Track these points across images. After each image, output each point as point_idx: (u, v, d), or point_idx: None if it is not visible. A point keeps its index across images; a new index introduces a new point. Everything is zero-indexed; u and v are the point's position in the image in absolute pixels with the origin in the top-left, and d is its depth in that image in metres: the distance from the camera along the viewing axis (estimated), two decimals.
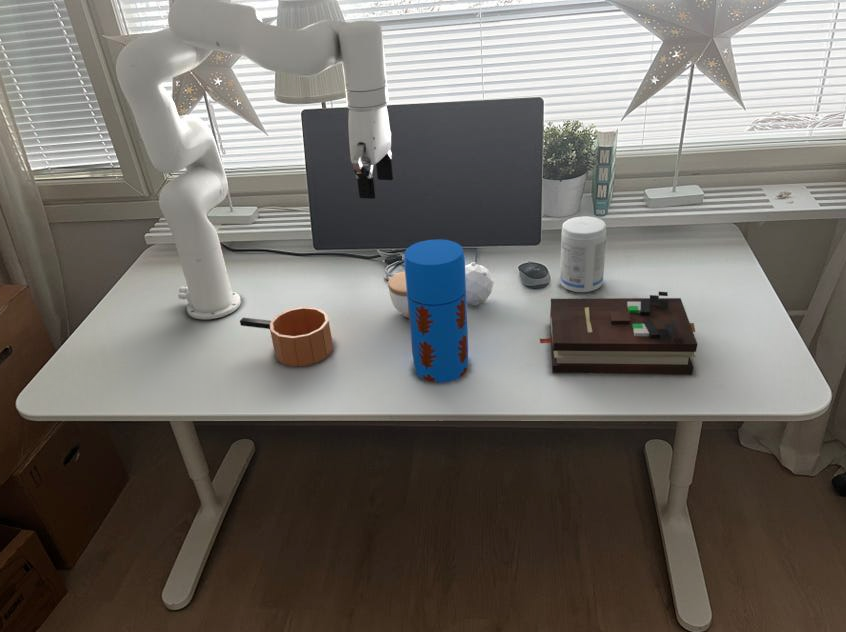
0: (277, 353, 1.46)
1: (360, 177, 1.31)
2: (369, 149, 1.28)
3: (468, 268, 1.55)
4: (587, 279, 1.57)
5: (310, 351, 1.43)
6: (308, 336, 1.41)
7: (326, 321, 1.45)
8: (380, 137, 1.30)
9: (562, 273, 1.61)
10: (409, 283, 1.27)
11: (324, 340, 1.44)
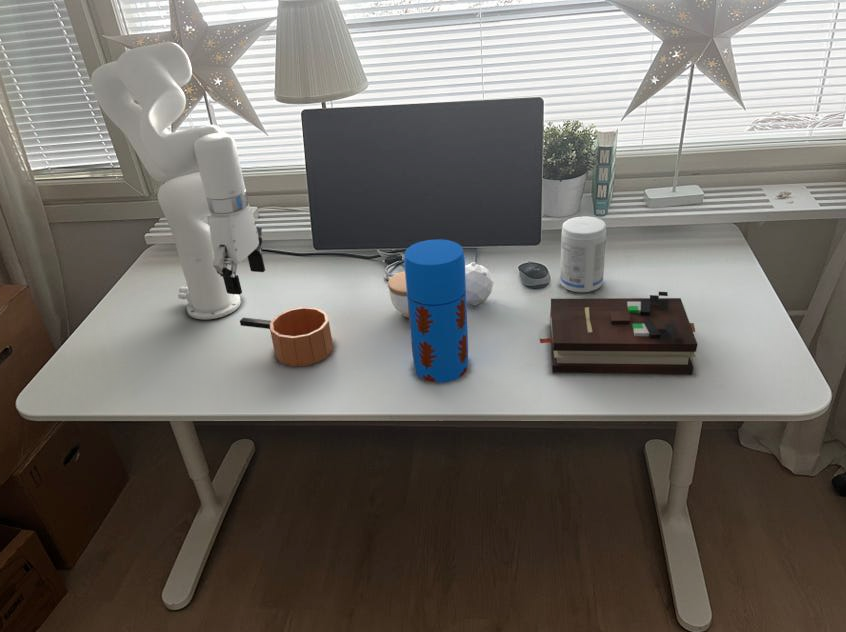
0: (277, 353, 1.46)
1: (224, 276, 1.37)
2: (230, 251, 1.35)
3: (468, 268, 1.55)
4: (587, 279, 1.57)
5: (310, 351, 1.43)
6: (308, 336, 1.41)
7: (326, 321, 1.45)
8: (242, 238, 1.37)
9: (562, 273, 1.61)
10: (409, 283, 1.27)
11: (324, 340, 1.44)
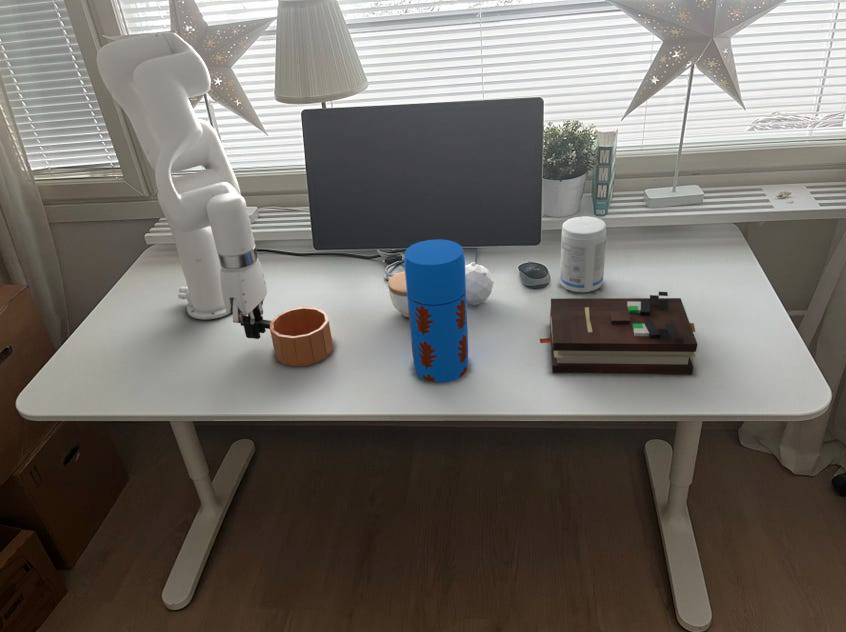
0: (277, 353, 1.46)
1: (244, 322, 1.48)
2: (240, 303, 1.42)
3: (468, 268, 1.55)
4: (587, 279, 1.57)
5: (310, 351, 1.43)
6: (308, 336, 1.41)
7: (326, 321, 1.45)
8: (251, 291, 1.43)
9: (562, 273, 1.61)
10: (409, 283, 1.27)
11: (324, 340, 1.44)
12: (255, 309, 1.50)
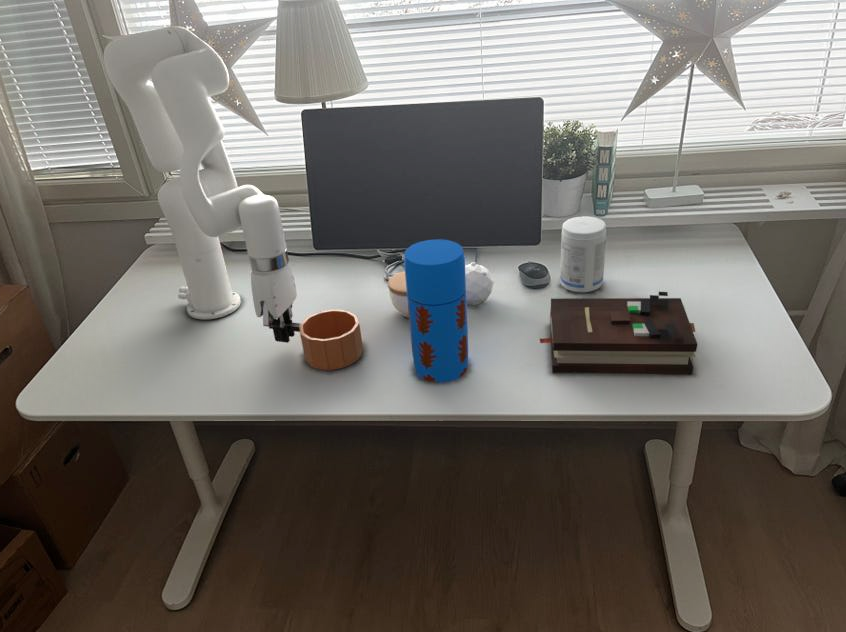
0: (307, 356, 1.44)
1: (274, 326, 1.45)
2: (270, 307, 1.40)
3: (468, 268, 1.55)
4: (587, 279, 1.57)
5: (341, 354, 1.41)
6: (339, 339, 1.39)
7: (357, 324, 1.43)
8: (282, 294, 1.41)
9: (562, 273, 1.61)
10: (409, 283, 1.27)
11: (354, 343, 1.42)
12: (284, 312, 1.48)
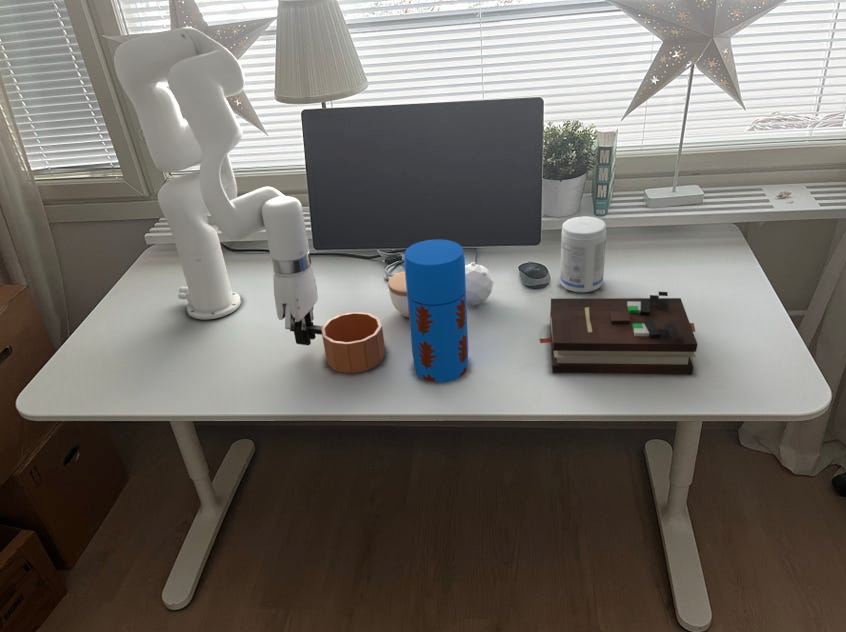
0: (329, 359, 1.42)
1: (295, 329, 1.44)
2: (293, 309, 1.38)
3: (468, 268, 1.55)
4: (587, 279, 1.57)
5: (364, 357, 1.40)
6: (362, 342, 1.38)
7: (379, 326, 1.41)
8: (304, 296, 1.40)
9: (562, 273, 1.61)
10: (409, 283, 1.27)
11: (377, 346, 1.41)
12: (305, 315, 1.47)
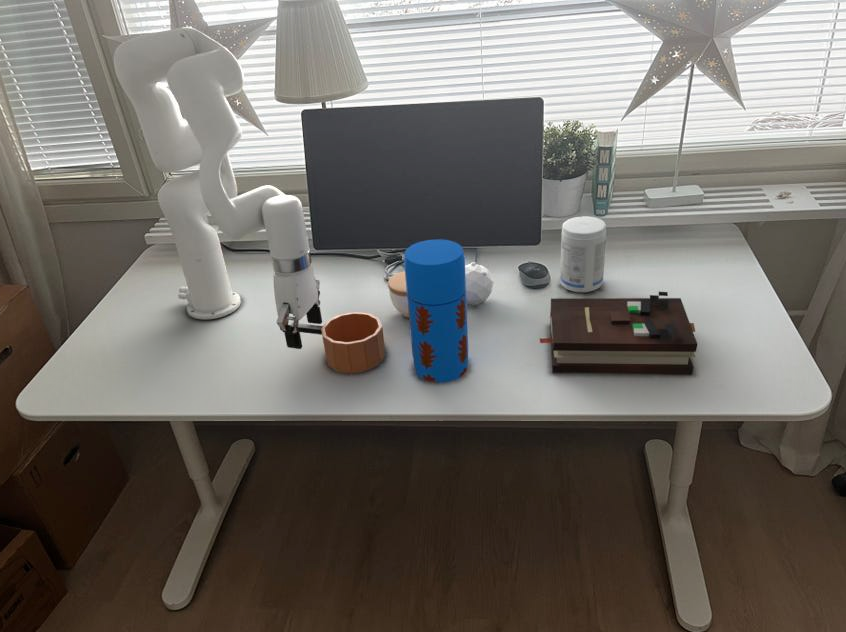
0: (329, 359, 1.42)
1: (286, 332, 1.40)
2: (293, 308, 1.38)
3: (468, 268, 1.55)
4: (587, 279, 1.57)
5: (364, 357, 1.40)
6: (363, 342, 1.38)
7: (380, 326, 1.41)
8: (304, 295, 1.40)
9: (562, 273, 1.61)
10: (409, 283, 1.27)
11: (377, 347, 1.41)
12: None
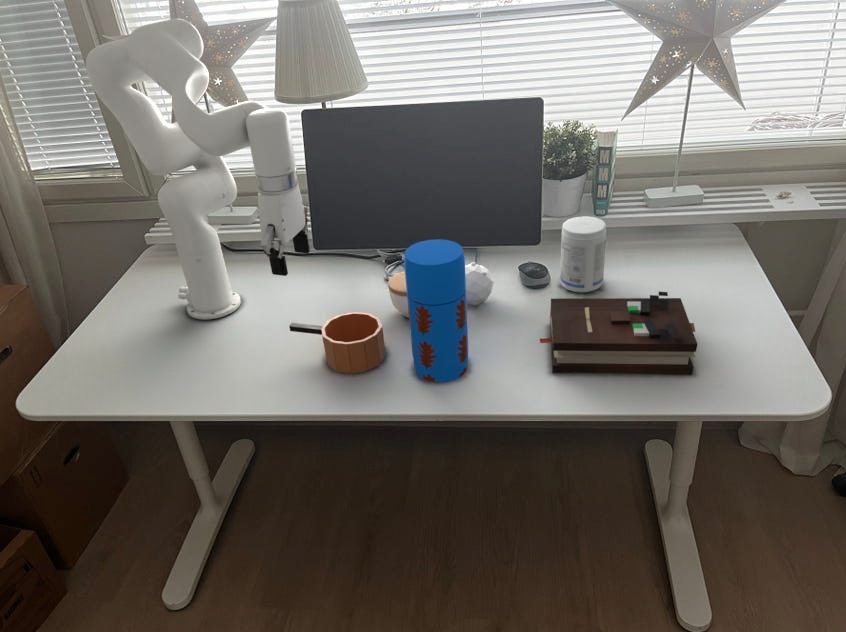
0: (329, 359, 1.42)
1: (271, 256, 1.34)
2: (278, 231, 1.31)
3: (468, 268, 1.55)
4: (587, 279, 1.57)
5: (364, 357, 1.40)
6: (363, 342, 1.38)
7: (380, 326, 1.41)
8: (290, 218, 1.33)
9: (562, 273, 1.61)
10: (409, 283, 1.27)
11: (377, 347, 1.41)
12: None
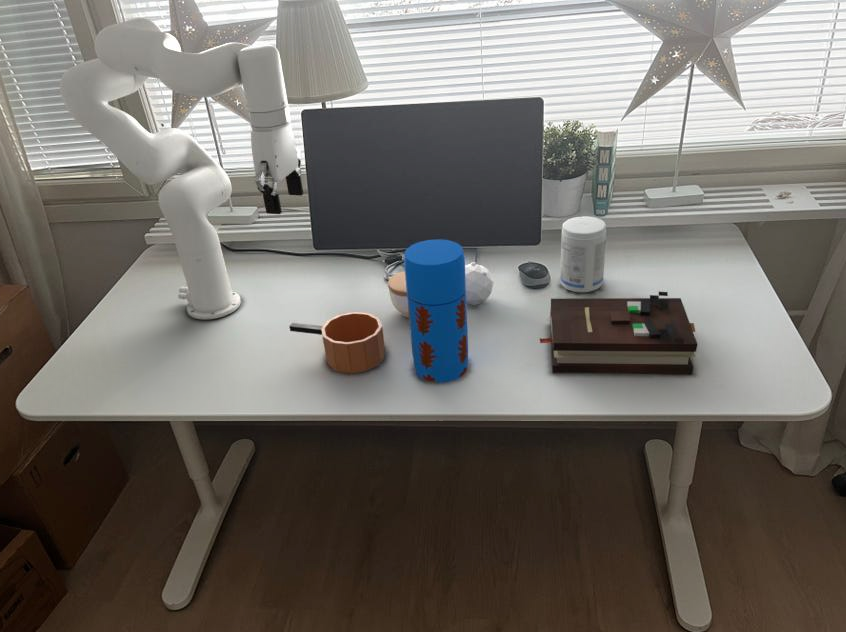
0: (329, 359, 1.42)
1: (264, 194, 1.36)
2: (271, 167, 1.34)
3: (468, 268, 1.55)
4: (587, 279, 1.57)
5: (364, 357, 1.40)
6: (363, 342, 1.38)
7: (380, 326, 1.41)
8: (283, 155, 1.35)
9: (562, 273, 1.61)
10: (409, 283, 1.27)
11: (377, 347, 1.41)
12: None
